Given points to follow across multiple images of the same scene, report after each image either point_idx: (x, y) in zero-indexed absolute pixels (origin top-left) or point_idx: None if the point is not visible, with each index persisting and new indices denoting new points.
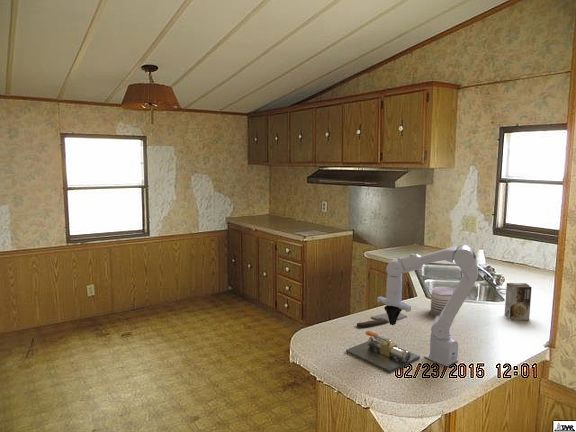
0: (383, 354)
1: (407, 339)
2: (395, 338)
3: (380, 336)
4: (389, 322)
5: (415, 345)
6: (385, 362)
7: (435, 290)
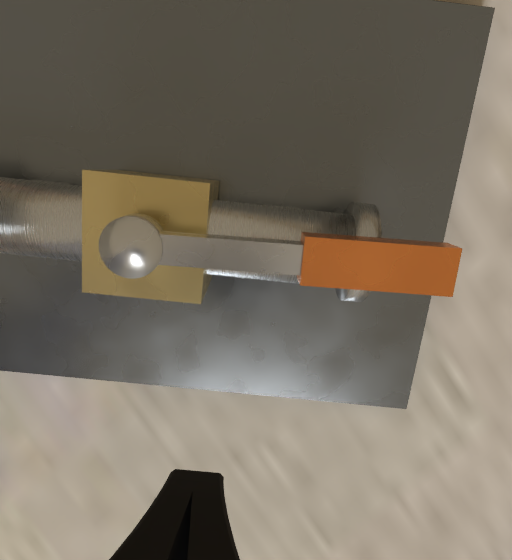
0: (180, 176)
1: (237, 552)
2: (307, 514)
3: (256, 262)
4: (220, 488)
5: (146, 511)
6: (85, 64)
7: None
